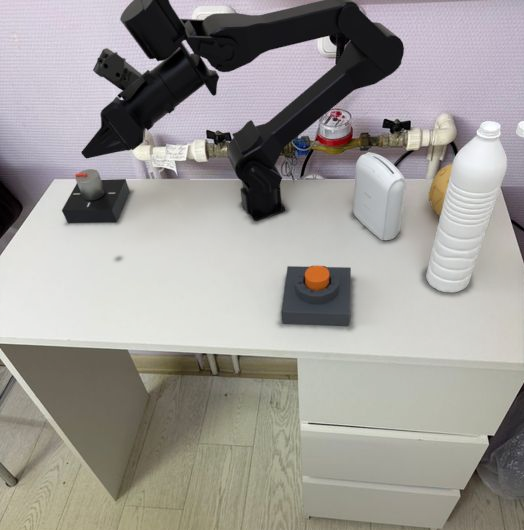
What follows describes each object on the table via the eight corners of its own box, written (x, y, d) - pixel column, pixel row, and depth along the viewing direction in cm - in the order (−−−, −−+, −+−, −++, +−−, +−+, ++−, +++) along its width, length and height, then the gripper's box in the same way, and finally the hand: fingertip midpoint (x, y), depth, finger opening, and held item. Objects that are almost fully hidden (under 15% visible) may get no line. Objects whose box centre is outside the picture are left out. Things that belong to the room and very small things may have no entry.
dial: (108, 187, 97) (100, 167, 94) (101, 200, 95) (94, 180, 91) (87, 187, 98) (78, 167, 94) (80, 200, 95) (71, 181, 92)
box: (349, 279, 80) (351, 258, 76) (348, 326, 74) (350, 305, 70) (288, 278, 81) (287, 257, 78) (282, 323, 75) (280, 303, 72)
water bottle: (425, 291, 77) (463, 138, 57) (425, 263, 81) (460, 110, 61) (485, 296, 75) (545, 139, 56) (482, 267, 79) (537, 111, 59)
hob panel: (130, 191, 101) (125, 178, 99) (116, 222, 95) (111, 208, 92) (83, 192, 102) (78, 179, 100) (67, 223, 96) (61, 209, 94)
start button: (329, 274, 75) (329, 265, 74) (328, 291, 73) (328, 282, 72) (305, 273, 76) (305, 265, 74) (304, 290, 73) (304, 281, 72)
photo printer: (349, 213, 90) (352, 150, 81) (368, 205, 91) (375, 142, 82) (381, 244, 84) (389, 180, 75) (402, 236, 85) (413, 171, 76)
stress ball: (487, 205, 89) (504, 153, 81) (477, 238, 83) (494, 186, 76) (431, 195, 92) (442, 144, 84) (418, 226, 87) (428, 175, 79)
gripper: (138, 29, 77) (64, 92, 80) (122, 33, 61) (31, 111, 65) (183, 96, 82) (112, 151, 86) (179, 114, 67) (92, 181, 71)
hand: (89, 148), depth 77 cm, fingers open, 9 cm apart
